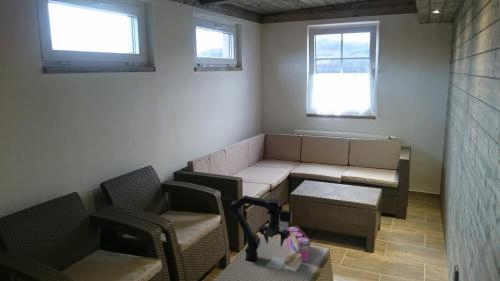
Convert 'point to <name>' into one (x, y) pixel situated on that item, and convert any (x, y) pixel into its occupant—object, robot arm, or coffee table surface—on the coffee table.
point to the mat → (276, 263)
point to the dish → (292, 267)
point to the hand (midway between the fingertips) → (274, 244)
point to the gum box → (298, 243)
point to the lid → (292, 259)
